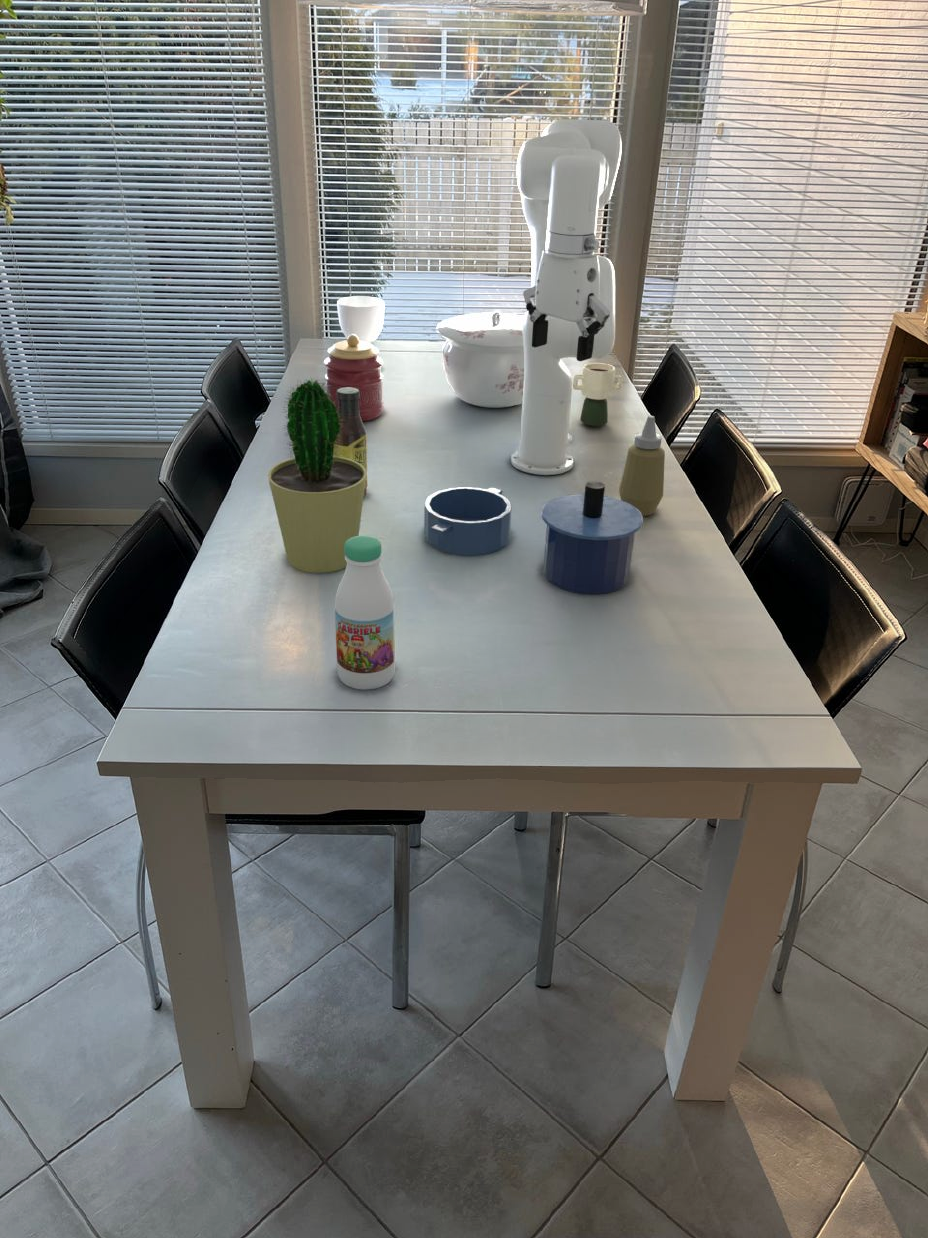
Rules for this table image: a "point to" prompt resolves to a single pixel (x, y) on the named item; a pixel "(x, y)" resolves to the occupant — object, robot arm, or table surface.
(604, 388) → the trophy
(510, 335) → the chamber pot
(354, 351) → the kitchen canister
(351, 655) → the milk bottle
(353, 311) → the cup
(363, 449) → the sauce bottle
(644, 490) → the squeeze bottle
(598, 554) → the pot
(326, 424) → the potted cactus
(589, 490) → the lid
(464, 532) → the pan
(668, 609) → the table surface
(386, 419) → the table surface
